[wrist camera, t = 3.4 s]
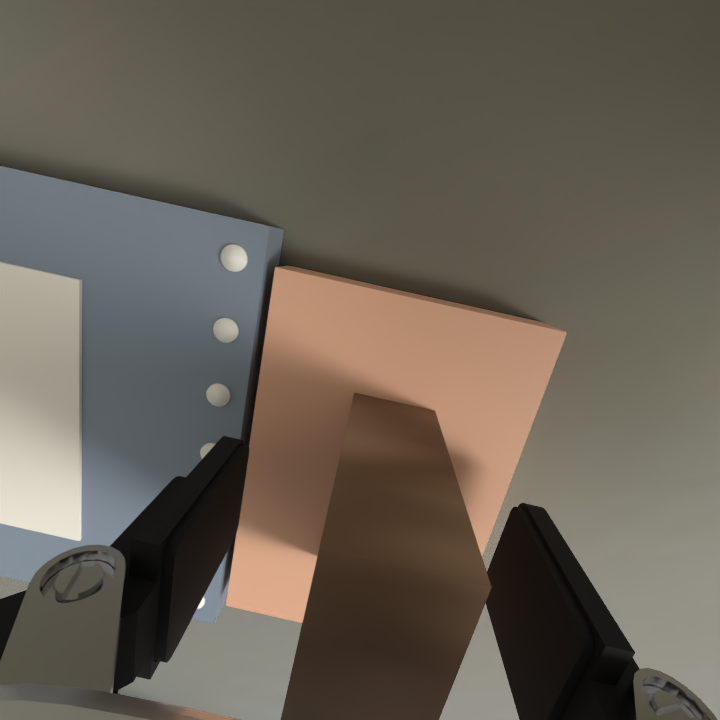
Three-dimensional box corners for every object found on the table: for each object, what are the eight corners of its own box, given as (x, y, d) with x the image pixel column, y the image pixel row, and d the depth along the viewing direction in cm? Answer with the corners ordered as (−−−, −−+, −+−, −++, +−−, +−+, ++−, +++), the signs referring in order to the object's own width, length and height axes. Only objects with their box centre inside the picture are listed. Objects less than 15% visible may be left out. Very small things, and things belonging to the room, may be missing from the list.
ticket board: (284, 229, 11) (268, 225, 10) (231, 589, 15) (213, 627, 14) (-237, 113, 11) (-335, 91, 10) (-156, 501, 15) (-217, 529, 14)
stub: (543, 322, 11) (812, 439, 4) (438, 616, 15) (490, 958, 8) (288, 265, 11) (128, 284, 4) (241, 571, 15) (106, 870, 8)
